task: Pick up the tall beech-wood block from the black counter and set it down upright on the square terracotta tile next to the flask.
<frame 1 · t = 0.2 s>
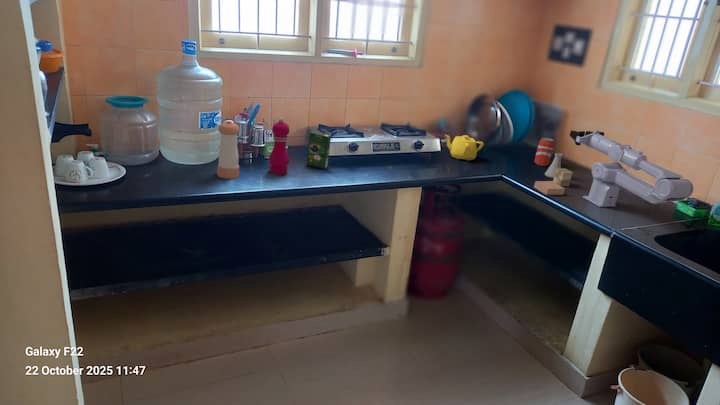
hand: (578, 133, 206), 21 cm above the worktop, tool horizontal, fingers open, 7 cm apart
pepper mill: (278, 172, 187), on the worktop
base: (548, 190, 202), on the worktop
block: (560, 184, 212), on the worktop
teapot: (460, 158, 231), on the worktop
flask: (552, 176, 221), on the worktop
beverage can: (540, 164, 236), on the worktop
salt shaker 2: (228, 175, 179), on the worktop
coffee box: (317, 166, 198), on the worktop
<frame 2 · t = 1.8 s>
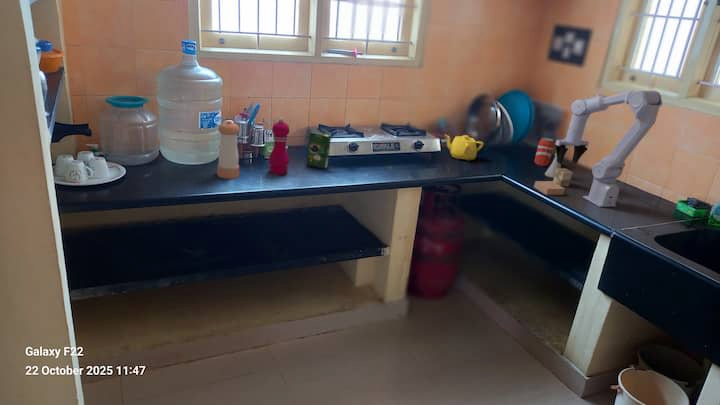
hand: (566, 162, 209), 9 cm above the worktop, tool pointing down, fingers open, 7 cm apart
nothing on the worktop moved.
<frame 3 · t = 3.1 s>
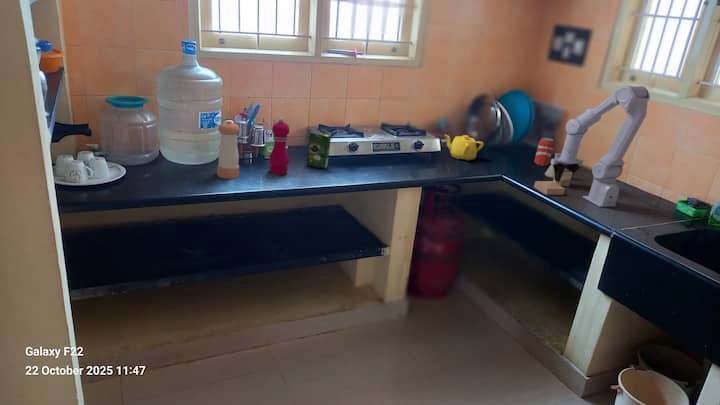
hand: (561, 180, 212), 1 cm above the worktop, tool pointing down, fingers closed on block, 4 cm apart
block: (560, 184, 212), on the worktop, touching gripper
everything else where it was.
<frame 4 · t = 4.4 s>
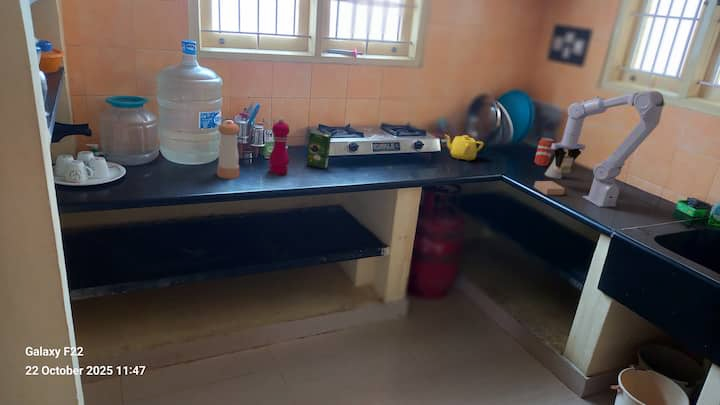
hand: (562, 166, 206), 8 cm above the worktop, tool pointing down, fingers closed on block, 4 cm apart
block: (561, 170, 207), point 6 cm above the worktop, touching gripper
everything else where it was.
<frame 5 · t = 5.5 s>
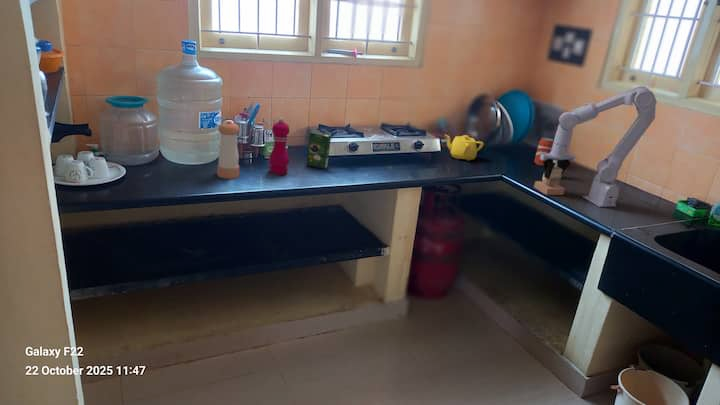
hand: (552, 177, 200), 6 cm above the worktop, tool pointing down, fingers closed on block, 5 cm apart
block: (550, 182, 201), point 4 cm above the worktop, touching gripper
everything else where it was.
when the fingers open (5 cm above the worktop, at t = 6.0 s): block stays where it is, resting on base.
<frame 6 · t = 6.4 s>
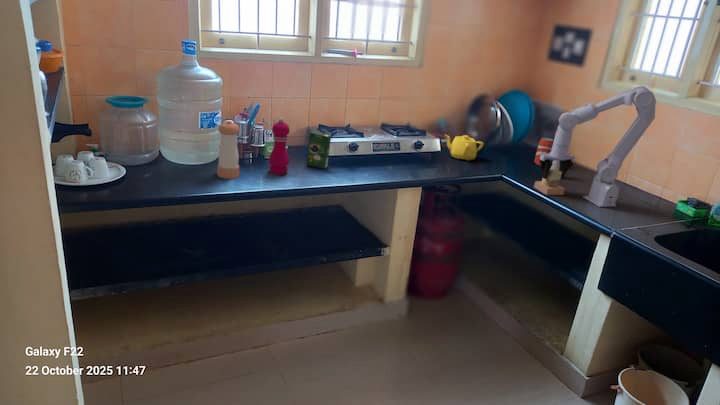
hand: (551, 178, 200), 5 cm above the worktop, tool pointing down, fingers open, 7 cm apart
block: (549, 184, 202), point 2 cm above the worktop, touching base
everything else where it was.
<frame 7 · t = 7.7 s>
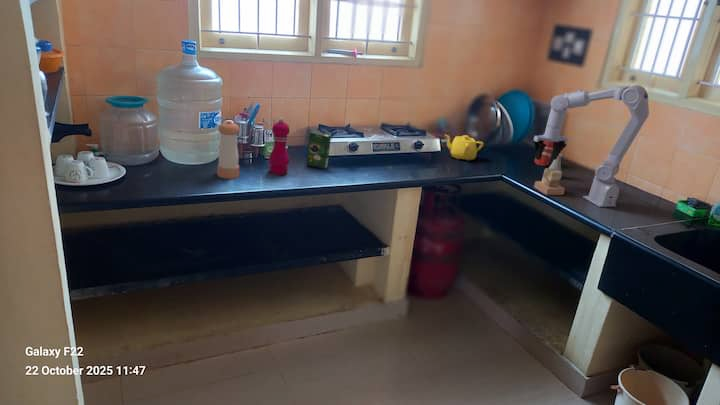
hand: (545, 159, 206), 10 cm above the worktop, tool pointing down, fingers open, 7 cm apart
nothing on the worktop moved.
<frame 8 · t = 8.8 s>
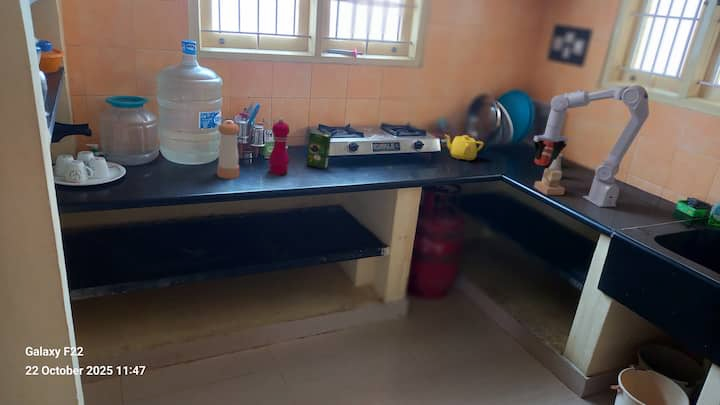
hand: (545, 159, 206), 10 cm above the worktop, tool pointing down, fingers open, 7 cm apart
nothing on the worktop moved.
at the end: block 0.3 cm off-centre on the base, point 2.5 cm above the base's base; block tilted 0°; the gripper is holding nothing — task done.
